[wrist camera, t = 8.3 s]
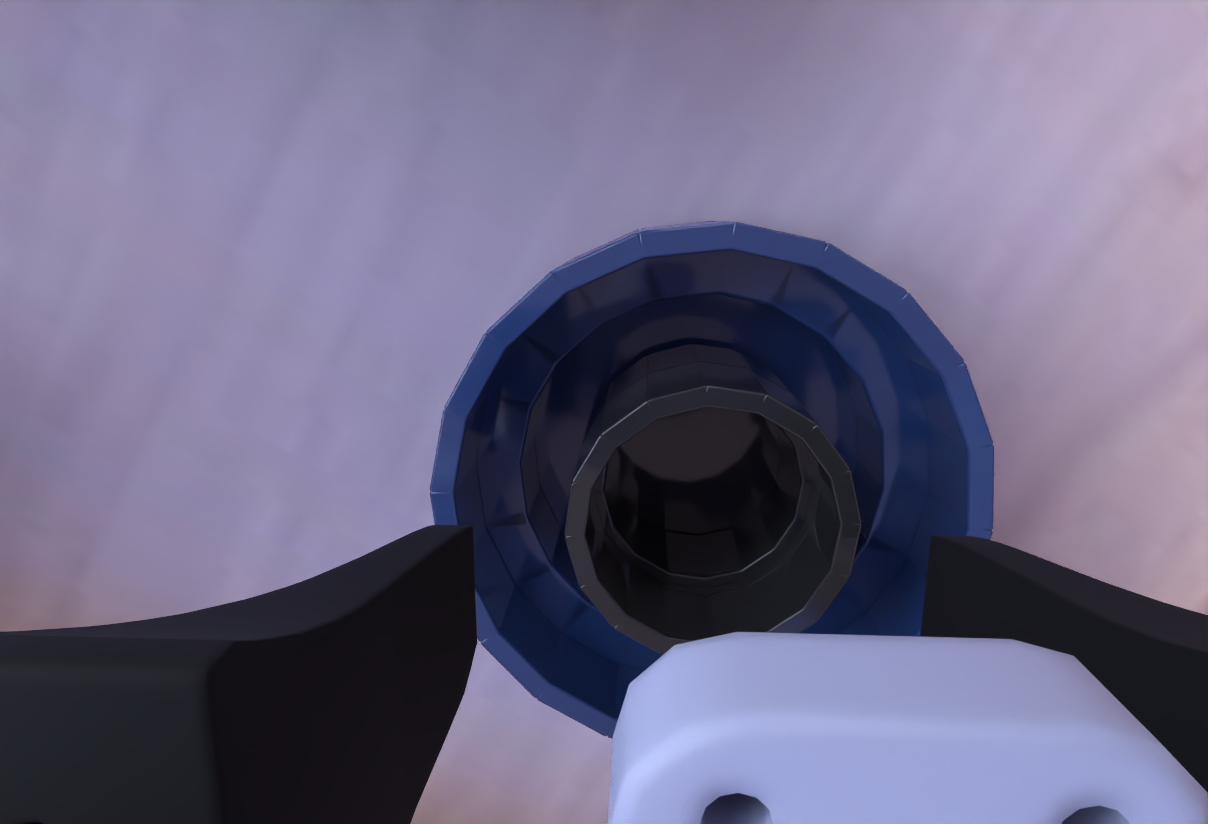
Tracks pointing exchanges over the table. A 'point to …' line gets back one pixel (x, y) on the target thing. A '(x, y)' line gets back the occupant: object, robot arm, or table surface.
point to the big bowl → (720, 319)
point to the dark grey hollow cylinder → (708, 502)
